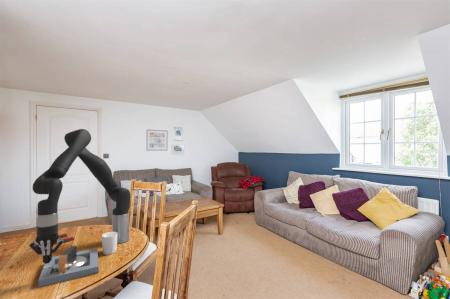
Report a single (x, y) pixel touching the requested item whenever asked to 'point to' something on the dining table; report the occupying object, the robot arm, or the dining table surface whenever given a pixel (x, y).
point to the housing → (52, 276)
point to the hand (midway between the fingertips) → (47, 262)
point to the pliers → (65, 239)
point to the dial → (70, 260)
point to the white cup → (109, 242)
